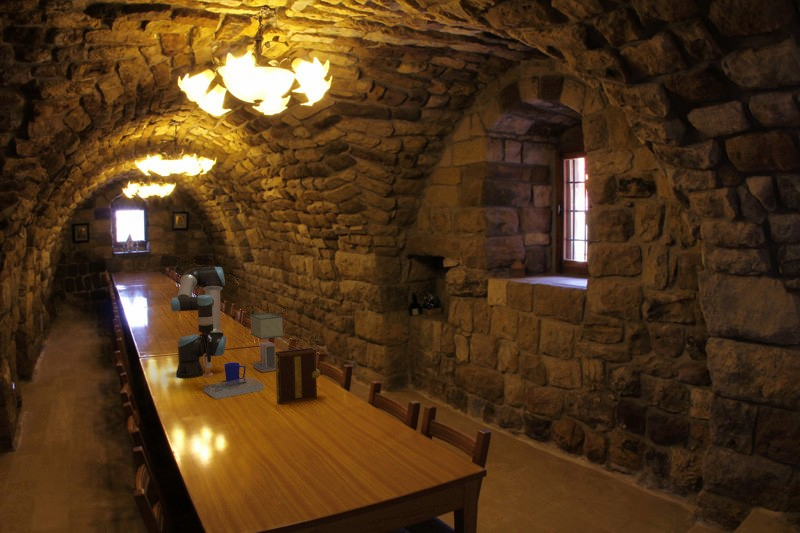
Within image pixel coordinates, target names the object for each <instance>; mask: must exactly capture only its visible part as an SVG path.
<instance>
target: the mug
mask: <svg viewBox="0 0 800 533" xmlns="http://www.w3.org/2000/svg"><path fill="white" fill-rule="evenodd" d="M240 368H243V376H242V377H240ZM246 369H247V368H246V366H245V365H240V362H236V361H235V362H227V363H225V364H224V374H225V382H227V381H232V380H238V379H243V378H246V377H245V376H246Z"/></svg>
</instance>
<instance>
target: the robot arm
mask: <svg viewBox="0 0 800 533" xmlns="http://www.w3.org/2000/svg"><path fill="white" fill-rule="evenodd" d="M179 284H180V287H179V289H178V292H177V296H176V297H172V298H171V299H170V308H171V311H172V312H177V313H179V312H191V311H192V312H194V311H197V319H196V320H197V321H198V322H197V323H198V332H199V333H201V334H190V335H188V334H187V335H185V336H182V337H179V339H178V341H177V353H178V365H177V367H176V372H175V375H176V376H175V377H176V378H178V379H193V378H198V377H202V376H203V374H204V368H205V357H206V368H210V369H211V368H213V367H212V365H213V364H212V357H219V356H223V355H224V354H225V351H226V345H227V344H226V343H227V337H226V335H224V332H223V331H222V330H221V329H222V328H221V326H222V325H221V322H222V321H221V291H222V290H223V288H224V287H225V286H226V281H225V274H224V269H223V268H222V266H204V267H203V266H202V267H199V266H198V267H193V268H190V269H188V270H187V271H186V272H184V273H183V274H182V275H181V277H180V279H179ZM198 287H202V290H203V291H204V294H200V295H198V296H193V293H194V290H195V288H198ZM204 353H206V355H205V357H204ZM200 358H202V360H203V361H202V362H203V366H202V364H201V359H200ZM203 367H204V368H203Z"/></svg>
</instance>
